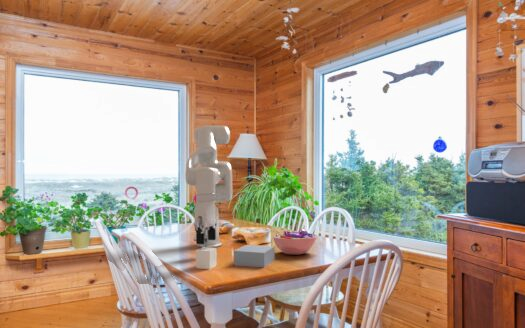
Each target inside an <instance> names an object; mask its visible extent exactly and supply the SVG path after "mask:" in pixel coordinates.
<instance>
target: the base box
mask: <svg viewBox="0 0 525 328" xmlns="http://www.w3.org/2000/svg"><path fill="white" fill-rule="evenodd" d="M275 246H276V245H275ZM275 246H272V245H258V244H255V245H254V244H245V245H243V246H241V247H239V248H237V249H234V250H233V265H234V266H242V267H255V268H256V267H257V268H265V269H266V267H267V266H269V265H270V264H271V263H273V262H274V261H275V260H276V258H275V257H276V256H275V252H276V251H275Z"/></svg>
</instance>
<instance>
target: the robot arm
mask: <svg viewBox="0 0 525 328" xmlns="http://www.w3.org/2000/svg"><path fill="white" fill-rule="evenodd" d="M193 135H194V140H195V143H196V145H197V146H196V147H197V149H196V150H194V152H192V154H191V155H189V158H188V159H187V161H186V165H185V175H184V176H185V181H186V182H185V183H187V185H189V186H195V188H196V189H195V192H196V193H195V195H196V196H195V197H196V200H195V208H194V222H193V226H194V230H195V236H194V237H193V241H194V242H196V243H195V244H196V247H199V248H203V247H205V245H204V233H203V232H204V229H205V228H209V230H208V240H209V242H208V244H207V248H218V247H221V246H222V245H223V242H221V241H220V228H219V227H220V224H219V223H220V216H219V213H220V212H219V208H218V207H217V205H216V203H217V202H218V203H220V202H230V201H231V200H232V199H233V169H232V168H233V167H232V165H231V163H230V161H226V160H225V161H223V160H221V161H220V160H219V161H218V151H217V149H218V148H217V145H227V144H229V143H230V141H231V140H230V139H231V131H230V128H229V127H228V126H227V125H204V126H199V127H197V128H194V130H193ZM197 165H199V166H200V167H197ZM220 181H222V182H220ZM200 228H202V229H200Z"/></svg>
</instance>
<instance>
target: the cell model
mask: <svg viewBox="0 0 525 328" xmlns="http://www.w3.org/2000/svg"><path fill="white" fill-rule="evenodd" d="M317 238H318V236H317V235H316V234H313V233H309V232H308V231H307V230H306V229H304V228H301V229H300V231H299V232H298V231H297V232H295V231H292V232H291V231H288V230H287V231H286V230H284V231H283V233H282V232H281V233H276V234H273V236H272V239H273V242H274V245H275V246H276V248H277V249H278V250H279V251H281V253H282V252H283V253H284V254H286V255H294V256H295V255H303V254H306V253H308V252H309V251H310V250H311V249H312V247H313V246H314V244H315V242H316V240H317Z"/></svg>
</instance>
